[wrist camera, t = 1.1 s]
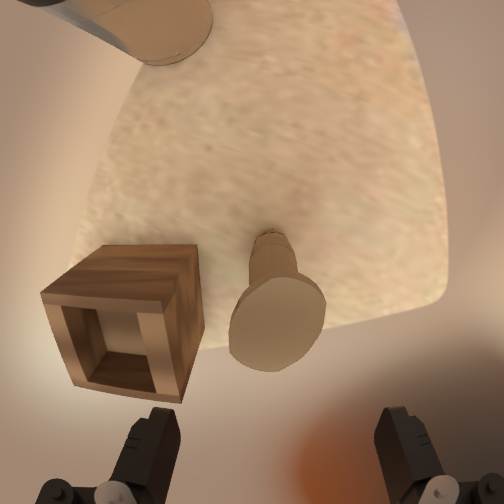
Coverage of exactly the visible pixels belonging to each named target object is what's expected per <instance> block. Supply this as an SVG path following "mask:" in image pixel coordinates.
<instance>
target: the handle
mask: <svg viewBox="0 0 504 504" xmlns="http://www.w3.org/2000/svg"><path fill="white" fill-rule="evenodd" d="M325 309H326V301H325V298H324V295H323V294H322V292H321V290H320V288H319V287H318V286H317V284H316V283H314V282H313V281H312V280H311V279H310V278H308V277H306V276H304V275H303V274H300V273H298V272H297V262H296V258H295V254H294V251H293V249H292V247H291V245H290V243H289V242H288V240H287V238H286V236H285V235H283V234H278V233H277V232H275V230H269V231H268V232H267V233H266V234H265V235H262V236H259V237H258V238H257V239H256V242H255V245H254V247H253V250H252V253H251V257H250V262H249V287H248V288H247V289H246V290H245V291H244V293H243V294H242V296H241V297H240V299H239V301H238V303H237V305H236V307H235V309H234V311H233V313H232V316H231V321H230V328H229V348H230V353H231V354H232V356H233V357H234V358H235V359H236V360H237V361H239V362H240V363H242V364H243V365H245V366H247V367H250V368H252V369H255V370H259V371H265V372H275V371H280V370H282V369H284V368H286V367H288V366H289V365H291V364H293V363H294V362H296V361H298V360H299V359H300V358H302V357H303V356H304V355H305V354H306V353H307V352H308V351H309V349H310V348H311V347H312V345H313V344H314V342H315V341H316V340H317V338H318V336H319V335H320V333H321V331H322V327H323V324H324V317H325Z"/></svg>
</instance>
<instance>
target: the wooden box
mask: <svg viewBox="0 0 504 504" xmlns="http://www.w3.org/2000/svg"><path fill="white" fill-rule="evenodd" d="M40 294H41V298H42V301H43V304H44V307H45V311H46V314H47V317H48V320H49V323H50V326H51V329H52V332H53V334H54V338H55V340H56V343H57V346H58V348H59V351H60V353H61V356H62V358H63V361H64V363H65V365H66V368H67V371H68V373H69V375H70V377H71V380H72V382H73V384H74V386H78V387H82V388H86V389H91V390H96V391H101V392H106V393H111V394H116V395H122V396H128V397H134V398H140V399H147V400H154V401H161V402H170V403H179V404H181V403H182V400H183V397H184V394H185V390H186V387H187V384H188V380H189V377H190V374H191V370H192V367H193V364H194V361H195V357H196V354H197V351H198V348H199V345H200V341H201V338H202V335H203V332H204V329H205V327H204V317H203V307H202V297H201V286H200V275H199V263H198V250H197V245H103V246H101V247H100V248H99V249H97V250H96V251H94V252H93V253H92V254H90V255H89V256H87V257H86V258H85V259H83V260H82V261H81V262H79V263H78V264H77V265H75V266H74V267H72V268H71V269H70V270H69V271H67V272H66V273H65V274H63V275H62V276H61V277H59V278H58V279H57V280H56V281H54V282H53V283H52V284H50V285H49V286H48V287H46V288H45V289H44V290H43V291H41V292H40Z"/></svg>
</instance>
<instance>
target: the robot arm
mask: <svg viewBox="0 0 504 504" xmlns="http://www.w3.org/2000/svg"><path fill="white" fill-rule="evenodd" d="M18 1H20V2H23V3H25V4H28V5H30V6H33V7H35V8H38V9H40V10H42V11H44V12H46V13H49V14H51V15H53V16H55V17H58V18H60V19H62V20H64V21H66V22H68V23H71V24H72V25H75V26H76V27H79V28H81V29H83V30H85V31H86V32H88V33H90V34H92V35H94V36H96V37H98V38H100V39H102V40H104V41H105V42H107V43H109V44H111V45H113V46H115V47H116V48H118V49H120V50H122V51H123V52H125V53H127V54H129V55H130V56H132V57H134V58H136V59H137V60H139V61H141V62H144V63H146V64H150V65H167V64H171V63H175V62H178V61H180V60H183V59H185V58H186V57H188V56H189V55H191V54H193V53H194V52H195V51H196V50H197V49H198V48H199V47H200V46H201V45H202V44H203V43H204V41H205V40H206V39H207V37H208V35H209V33H210V30H211V26H212V12H211V9H210V6H209V4H208V2H207V0H18ZM180 442H181V434H180V429H179V426H178V423H177V420H176V416H175V412H174V410H173V409H167V408H159V407H154V408H153V409H152V411H151V414H150V416H149V419H145V418H140V419H139V420H138V421H137V422H136V423H135V424H134V425H133V426H132V427H131V430H130V432H129V434H128V438H127V439H126V441H125V444H124V447H123V449H122V451H121V454H120V456H119V459H118V461H117V463H116V466H115V468H114V471H113V473H112V476H111V478H110V479H109V480H108V481H107V482H104V483H102V484H101V485H99V486H98V487H94V488H92V487H91V488H90V487H88V488H87V487H72V486H71V485H70V484H69V483H68V482H66V481H65V480H62V479H51V480H49V481H47V482H46V483H45V484H44V485H43V487H42V489H41V491H40V493H39V496H38V498H37V501H36V503H35V504H165V501H166V497H167V493H168V489H169V486H170V482H171V478H172V474H173V470H174V466H175V462H176V459H177V455H178V451H179V447H180ZM374 443H375V447H376V450H377V454H378V458H379V461H380V465H381V469H382V473H383V477H384V480H385V484H386V488H387V492H388V496H389V500H390V504H504V478H503V477H502V476H501V475H499V474H497V473H489V474H486V475H485V476H483V477H482V478H481V479H480V480H479V481H476V482H457V481H456V480H455V479H453V478H452V477H450V476H446V475H445V473H444V471H443V469H442V466H441V464H440V461H439V460H438V457H437V454H436V452H435V449H434V447H433V444H431V440H430V437H429V436H428V433H427V431H426V428H425V426H424V424H423V423H422V422H421V421H420V420H419V419H418V418H417V417H416V416H410V417H409V415H408V413H407V410H406V408H405V407H404V406H403V405H400V406H394V407H387V408H384V410H383V412H382V414H381V417H380V420H379V422H378V424H377V427H376V429H375V433H374Z"/></svg>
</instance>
